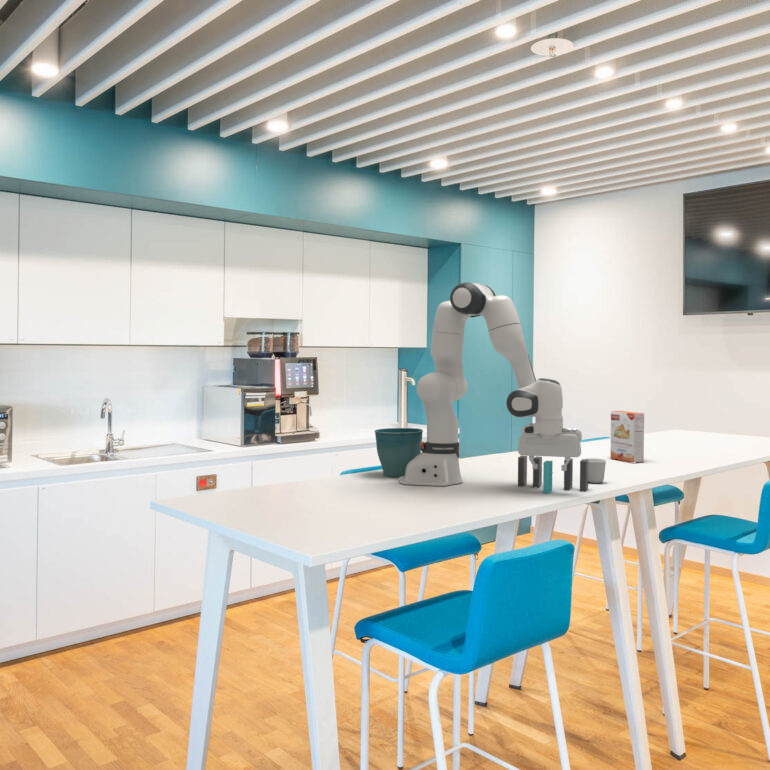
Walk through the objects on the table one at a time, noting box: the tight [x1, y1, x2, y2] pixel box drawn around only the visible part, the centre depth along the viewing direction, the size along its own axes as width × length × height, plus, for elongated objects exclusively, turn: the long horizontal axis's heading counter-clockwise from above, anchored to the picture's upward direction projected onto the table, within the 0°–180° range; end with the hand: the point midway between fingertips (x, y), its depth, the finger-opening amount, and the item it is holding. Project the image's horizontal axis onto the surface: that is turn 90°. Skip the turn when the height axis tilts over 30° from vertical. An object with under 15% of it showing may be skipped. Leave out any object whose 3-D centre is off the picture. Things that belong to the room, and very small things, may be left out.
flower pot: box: [374, 427, 424, 478], centre depth 276 cm, size 18×18×17 cm
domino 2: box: [532, 456, 543, 489], centre depth 254 cm, size 2×5×10 cm, turn 157°
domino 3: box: [563, 457, 574, 491], centre depth 249 cm, size 2×5×10 cm, turn 157°
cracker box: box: [610, 410, 645, 464], centre depth 314 cm, size 14×6×21 cm, turn 25°
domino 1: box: [517, 455, 528, 487], centre depth 256 cm, size 2×5×10 cm, turn 157°
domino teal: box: [542, 460, 554, 494], centre depth 244 cm, size 2×5×10 cm, turn 157°
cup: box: [586, 457, 607, 484], centre depth 263 cm, size 11×8×8 cm
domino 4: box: [579, 458, 589, 492], centre depth 247 cm, size 2×5×10 cm, turn 157°
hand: (549, 469), depth 243 cm, fingers open, 8 cm apart
